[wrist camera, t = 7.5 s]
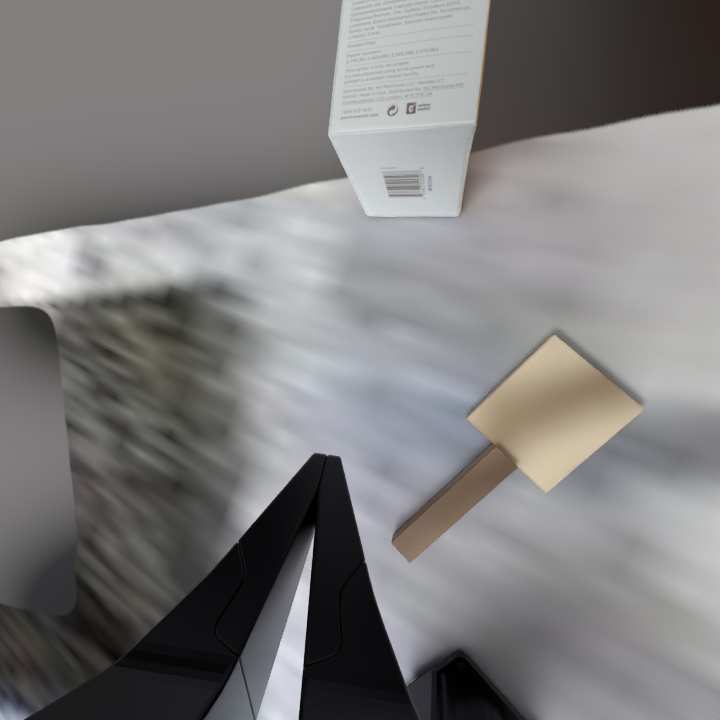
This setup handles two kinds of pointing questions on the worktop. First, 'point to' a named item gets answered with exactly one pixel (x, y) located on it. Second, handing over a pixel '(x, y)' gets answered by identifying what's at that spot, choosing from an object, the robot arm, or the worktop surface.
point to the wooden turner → (528, 435)
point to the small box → (408, 101)
